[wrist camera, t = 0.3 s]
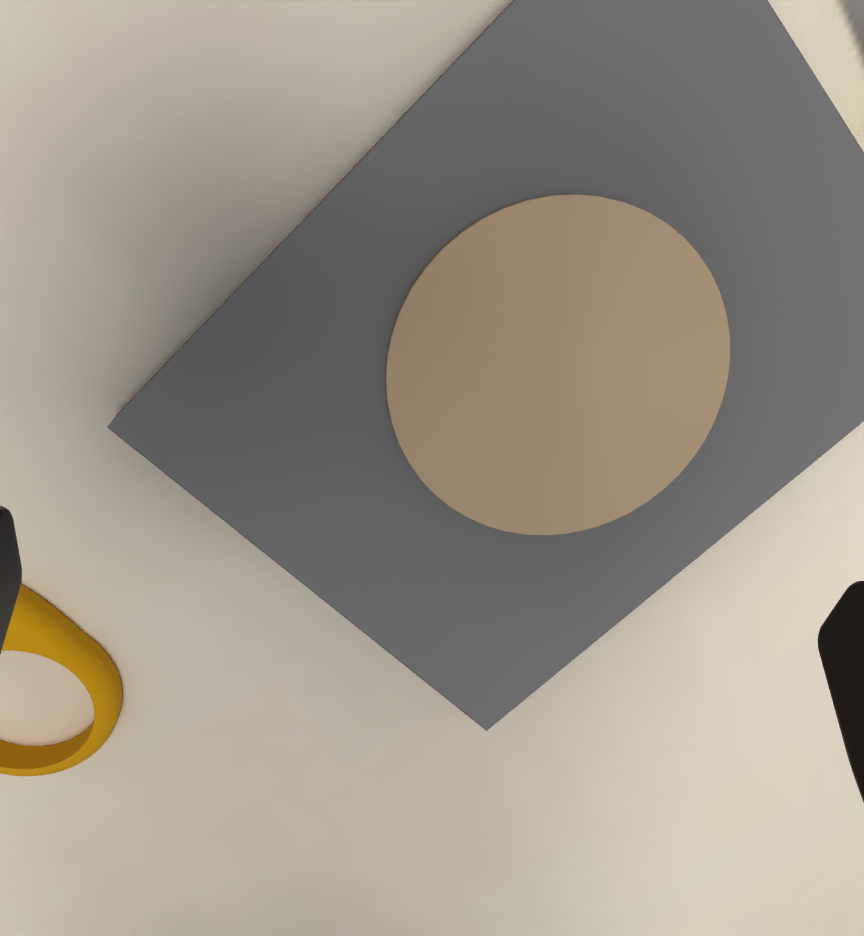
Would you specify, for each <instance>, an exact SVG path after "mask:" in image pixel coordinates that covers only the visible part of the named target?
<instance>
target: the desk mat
mask: <svg viewBox="0 0 864 936" xmlns="http://www.w3.org/2000/svg"><path fill="white" fill-rule="evenodd" d="M863 421H864V152H863V150H862V149H861V147H860V146H859V144H858V143H857V141H856V139H855V138H854V136H853V135H852V133H851V131H850V130H849V128H848V127H847V125H846V124H845V122H844V120H843V119H842V117H841V116H840V114H839V112H838V111H837V109H836V108H835V106H834V105H833V103H832V101H831V100H830V98H829V97H828V95H827V94H826V92H825V90H824V89H823V87H822V86H821V84H820V82H819V81H818V79H817V78H816V76H815V75H814V73H813V71H812V70H811V68H810V67H809V65H808V63H807V62H806V60H805V59H804V57H803V56H802V54H801V52H800V51H799V49H798V48H797V46H796V45H795V43H794V41H793V40H792V38H791V37H790V35H789V33H788V32H787V30H786V29H785V27H784V26H783V24H782V22H781V21H780V19H779V18H778V16H777V15H776V13H775V11H774V10H773V8H772V7H771V5H770V3H769V2H768V0H513V1H512V2H511V3H510V4H509V5H508V7H507V8H506V9H505V10H504V11H503V12H502V13H501V14H500V15H499V16H498V17H497V18H496V19H495V20H494V21H493V22H492V23H491V24H490V25H489V26H488V27H487V28H486V30H485V31H484V32H483V33H482V34H481V35H480V36H479V37H478V38H477V39H476V40H475V41H474V42H473V43H472V44H471V45H470V46H469V47H468V48H467V49H466V50H465V51H464V53H463V54H462V55H461V56H460V57H459V58H458V59H457V60H456V61H455V62H454V63H453V64H452V65H451V66H450V67H449V68H448V69H447V70H446V71H445V72H444V73H443V74H442V76H441V77H440V78H439V79H438V80H437V81H436V82H435V83H434V84H433V85H432V86H431V87H430V88H429V89H428V90H427V91H426V92H425V93H424V94H423V95H422V96H421V97H420V99H419V100H418V101H417V102H416V103H415V104H414V105H413V106H412V107H411V108H410V109H409V110H408V111H407V112H406V113H405V114H404V115H403V116H402V117H401V118H400V119H399V120H398V122H397V123H396V124H395V125H394V126H393V127H392V128H391V129H390V130H389V131H388V132H387V133H386V134H385V135H384V136H383V137H382V138H381V139H380V140H379V141H378V142H377V143H376V145H375V146H374V147H373V148H372V149H371V150H370V151H369V152H368V153H367V154H366V155H365V156H364V157H363V158H362V159H361V160H360V161H359V162H358V163H357V164H356V165H355V166H354V168H353V169H352V170H351V171H350V172H349V173H348V174H347V175H346V176H345V177H344V178H343V179H342V180H341V181H340V182H339V183H338V184H337V185H336V186H335V187H334V188H333V189H332V191H331V192H330V193H329V194H328V195H327V196H326V197H325V198H324V199H323V200H322V201H321V202H320V203H319V204H318V205H317V206H316V207H315V208H314V209H313V210H312V211H311V212H310V214H309V215H308V216H307V217H306V218H305V219H304V220H303V221H302V222H301V223H300V224H299V225H298V226H297V227H296V228H295V229H294V230H293V231H292V232H291V233H290V234H289V235H288V237H287V238H286V239H285V240H284V241H283V242H282V243H281V244H280V245H279V246H278V247H277V248H276V249H275V250H274V251H273V252H272V253H271V254H270V255H269V256H268V257H267V258H266V260H265V261H264V262H263V263H262V264H261V265H260V266H259V267H258V268H257V269H256V270H255V271H254V272H253V273H252V274H251V275H250V276H249V277H248V278H247V279H246V280H245V281H244V283H243V284H242V285H241V286H240V287H239V288H238V289H237V290H236V291H235V292H234V293H233V294H232V295H231V296H230V297H229V298H228V299H227V300H226V301H225V302H224V303H223V304H222V306H221V307H220V308H219V309H218V310H217V311H216V312H215V313H214V314H213V315H212V316H211V317H210V318H209V319H208V320H207V321H206V322H205V323H204V324H203V325H202V326H201V327H200V328H199V330H198V331H197V332H196V333H195V334H194V335H193V336H192V337H191V338H190V339H189V340H188V341H187V342H186V343H185V344H184V345H183V346H182V347H181V348H180V349H179V350H178V351H177V353H176V354H175V355H174V356H173V357H172V358H171V359H170V360H169V361H168V362H167V363H166V364H165V365H164V366H163V367H162V368H161V369H160V370H159V371H158V372H157V373H156V374H155V376H154V377H153V378H152V379H151V380H150V381H149V382H148V383H147V384H146V385H145V386H144V387H143V388H142V389H141V390H140V391H139V392H138V393H137V394H136V395H135V396H134V397H133V399H132V400H131V401H130V402H129V403H128V404H127V405H126V406H125V407H124V408H123V409H122V410H121V411H120V412H119V413H118V414H117V415H116V416H115V418H114V419H113V420H112V422H111V423H110V424H109V425H108V428H109V429H110V430H111V431H113V432H114V433H115V434H116V435H118V436H119V437H120V438H121V439H123V440H124V441H125V442H126V443H128V444H129V445H130V446H131V447H133V448H134V449H135V450H136V451H138V452H139V453H140V454H141V455H143V456H144V457H145V458H146V459H148V460H149V461H150V462H151V463H153V464H154V465H155V466H156V467H158V468H159V469H160V470H161V471H163V472H164V473H165V474H166V475H168V476H169V477H170V478H171V479H173V480H174V481H175V482H176V483H178V484H179V485H180V486H181V487H183V488H184V489H185V490H186V491H188V492H189V493H190V494H191V495H193V496H194V497H195V498H196V499H198V500H199V501H200V502H201V503H203V504H204V505H205V506H206V507H208V508H209V509H210V510H211V511H213V512H214V513H215V514H216V515H218V516H219V517H220V518H221V519H223V520H224V521H225V522H226V523H228V524H229V525H230V526H231V527H233V528H234V529H235V530H236V531H238V532H239V533H240V534H241V535H243V536H244V537H245V538H246V539H248V540H249V541H250V542H251V543H253V544H254V545H255V546H256V547H258V548H259V549H260V550H261V551H263V552H264V553H265V554H266V555H268V556H269V557H270V558H271V559H273V560H274V561H275V562H276V563H278V564H279V565H280V566H281V567H283V568H284V569H285V570H286V571H288V572H289V573H290V574H291V575H293V576H294V577H295V578H296V579H298V580H299V581H300V582H301V583H302V584H304V585H305V586H306V587H307V588H309V589H310V590H311V591H312V592H314V593H315V594H316V595H317V596H319V597H320V598H321V599H322V600H324V601H325V602H326V603H327V604H329V605H330V606H331V607H332V608H334V609H335V610H336V611H337V612H339V613H340V614H341V615H342V616H344V617H345V618H346V619H347V620H349V621H350V622H351V623H352V624H354V625H355V626H356V627H357V628H359V629H360V630H361V631H362V632H364V633H365V634H366V635H367V636H369V637H370V638H371V639H372V640H374V641H375V642H376V643H377V644H379V645H380V646H381V647H382V648H384V649H385V650H386V651H387V652H389V653H390V654H391V655H392V656H394V657H395V658H396V659H397V660H399V661H400V662H401V663H402V664H404V665H405V666H406V667H407V668H409V669H410V670H411V671H412V672H414V673H415V674H416V675H417V676H419V677H420V678H421V679H422V680H424V681H425V682H426V683H427V684H429V685H430V686H431V687H432V688H434V689H435V690H436V691H437V692H439V693H440V694H441V695H442V696H444V697H445V698H446V699H447V700H449V701H450V702H451V703H452V704H454V705H455V706H456V707H457V708H459V709H460V710H461V711H462V712H464V713H465V714H466V715H467V716H469V717H470V718H471V719H472V720H474V721H475V722H476V723H477V724H479V725H480V726H481V727H482V728H484V729H485V730H486V731H487V730H488V729H489V728H491V727H492V726H493V725H494V724H495V723H497V722H498V721H499V720H500V719H501V718H503V717H504V716H505V715H506V714H508V713H509V712H510V711H511V710H512V709H514V708H515V707H516V706H517V705H519V704H520V703H521V702H522V701H523V700H525V699H526V698H527V697H528V696H529V695H531V694H532V693H533V692H534V691H536V690H537V689H538V688H539V687H540V686H542V685H543V684H544V683H545V682H547V681H548V680H549V679H550V678H551V677H553V676H554V675H555V674H556V673H558V672H559V671H560V670H561V669H562V668H564V667H565V666H566V665H567V664H568V663H570V662H571V661H572V660H573V659H575V658H576V657H577V656H578V655H579V654H581V653H582V652H583V651H584V650H586V649H587V648H588V647H589V646H590V645H592V644H593V643H594V642H595V641H597V640H598V639H599V638H600V637H601V636H603V635H604V634H605V633H606V632H607V631H609V630H610V629H611V628H612V627H614V626H615V625H616V624H617V623H618V622H620V621H621V620H622V619H623V618H625V617H626V616H627V615H628V614H629V613H631V612H632V611H633V610H634V609H635V608H637V607H638V606H639V605H640V604H642V603H643V602H644V601H645V600H646V599H648V598H649V597H650V596H651V595H653V594H654V593H655V592H656V591H657V590H659V589H660V588H661V587H662V586H664V585H665V584H666V583H667V582H668V581H670V580H671V579H672V578H673V577H674V576H676V575H677V574H678V573H679V572H681V571H682V570H683V569H684V568H685V567H687V566H688V565H689V564H690V563H692V562H693V561H694V560H695V559H696V558H698V557H699V556H700V555H701V554H703V553H704V552H705V551H706V550H707V549H709V548H710V547H711V546H712V545H713V544H715V543H716V542H717V541H718V540H720V539H721V538H722V537H723V536H724V535H726V534H727V533H728V532H729V531H731V530H732V529H733V528H734V527H735V526H737V525H738V524H739V523H740V522H742V521H743V520H744V519H745V518H746V517H748V516H749V515H750V514H751V513H752V512H754V511H755V510H756V509H757V508H759V507H760V506H761V505H762V504H763V503H765V502H766V501H767V500H768V499H770V498H771V497H772V496H773V495H774V494H776V493H777V492H778V491H779V490H780V489H782V488H783V487H784V486H785V485H787V484H788V483H789V482H790V481H791V480H793V479H794V478H795V477H796V476H798V475H799V474H800V473H801V472H802V471H804V470H805V469H806V468H807V467H809V466H810V465H811V464H812V463H813V462H815V461H816V460H817V459H818V458H819V457H821V456H822V455H823V454H824V453H826V452H827V451H828V450H829V449H830V448H832V447H833V446H834V445H835V444H837V443H838V442H839V441H840V440H841V439H843V438H844V437H845V436H846V435H848V434H849V433H850V432H851V431H852V430H854V429H855V428H856V427H857V426H858V425H860V424H861V423H862V422H863Z"/></svg>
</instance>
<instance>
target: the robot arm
mask: <svg viewBox="0 0 864 936" xmlns="http://www.w3.org/2000/svg"><path fill="white" fill-rule="evenodd" d="M21 579H22V567H21V561H20V555H19V549H18V544H17V538H16V533H15V527H14V521H13V517H12V515H11V513H10V511H9V510H8V509H7V508H5V507H2V506H0V654H1V651H2V647H3V644H4V641H5V637H6V634H7V631H8V628H9V624H10V621H11V618H12V614H13V611H14V608H15V605H16V601H17V598H18V595H19V591H20V586H21ZM818 649H819V653H820V657H821V660H822V664H823V668H824V671H825V675H826V679H827V682H828V686H829V689H830V693H831V697H832V700H833V704H834V708H835V711H836V715H837V719H838V722H839V726H840V730H841V733H842V737H843V741H844V744H845V748H846V752H847V755H848V758H849V762H850V765H851V768H852V771H853V774H854V777H855V780H856V783H857V786H858V788H859V791H860V794H861V797H862V799H863V802H864V581H858V582H855V583H854V584H852V585H850V586H849V587H848V588H847V590H846V591H845V593H844V594H843V595H842V597H841V598H840V600H839V601H838V603H837V604H836V606H835V607H834V609H833V610H832V611H831V613H830V614H829V616H828V617H827V619H826V620H825V622H824V623H823V625H822V626H821V628H820V631H819V634H818Z"/></svg>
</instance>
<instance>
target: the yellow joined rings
mask: <svg viewBox="0 0 864 936" xmlns="http://www.w3.org/2000/svg"><path fill="white" fill-rule="evenodd" d="M5 650H15V651H25V652H30V653H34V654H38V655H42V656H44V657H47V658H50V659H52V660H54V661H56V662H58V663H60V664H61V665H63V666H64V667H66V668H67V669H69V670H70V671H71V672H72V673H74V674H75V675H76V676H77V677H78V678H79V679H80V680H81V682H82V683H83V684H84V685H85V687H86V689H87V690H88V692H89V694H90V696H91V699H92V701H93V705H94V710H95V720H94V722H93V723H92V724H91V725H90V726H89V727H88V728H87V729H86V730H85V731H83V732H82V733H81V734H79V735H77V736H75V737H74V738H72V739H70V740H68V741H64V742H61V743H57V744H53V745H46V746H23V745H18V744H14V743H9V742H6V741H3V740H0V773H2V774H8V775H15V776H38V775H46V774H51V773H55V772H59V771H62V770H65V769H68V768H71V767H73V766H75V765H77V764H79V763H81V762H82V761H84V760H86V759H87V758H89V757H90V756H91V755H93V754H94V753H95V752H96V751H97V750H98V749H99V748H100V747H101V746H102V745H103V744H104V743H105V742H106V740H107V739H108V738H109V736H110V735H111V733H112V731H113V729H114V727H115V725H116V722H117V719H118V716H119V714H120V710H121V705H122V685H121V680H120V676H119V673H118V670H117V668H116V666H115V664H114V663H113V661H112V659H111V658H110V656H109V655H108V654H107V652H106V651H105V650H104V649H103V648H102V647H101V646H100V645H99V644H98V643H97V642H96V641H95V640H94V639H92V638H91V637H90V636H88V635H87V634H86V633H84V632H83V631H82V630H81V629H80V628H79V627H78V626H77V625H75V624H74V623H73V622H72V621H71V620H70V619H69V618H68V617H66V616H65V615H64V614H63V613H61V612H60V611H59V610H58V609H57V608H55V607H54V606H53V605H52V604H50V603H49V602H48V601H46V600H45V599H43V598H42V597H41V596H39V595H38V594H36V593H35V592H33V591H32V590H30V589H29V588H27V587H25V586H24V585H22V584H21V586H20V591H19V595H18V598H17V601H16V605H15V608H14V611H13V614H12V618H11V621H10V624H9V628H8V631H7V634H6V637H5V641H4V644H3V647H2V651H5Z"/></svg>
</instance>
